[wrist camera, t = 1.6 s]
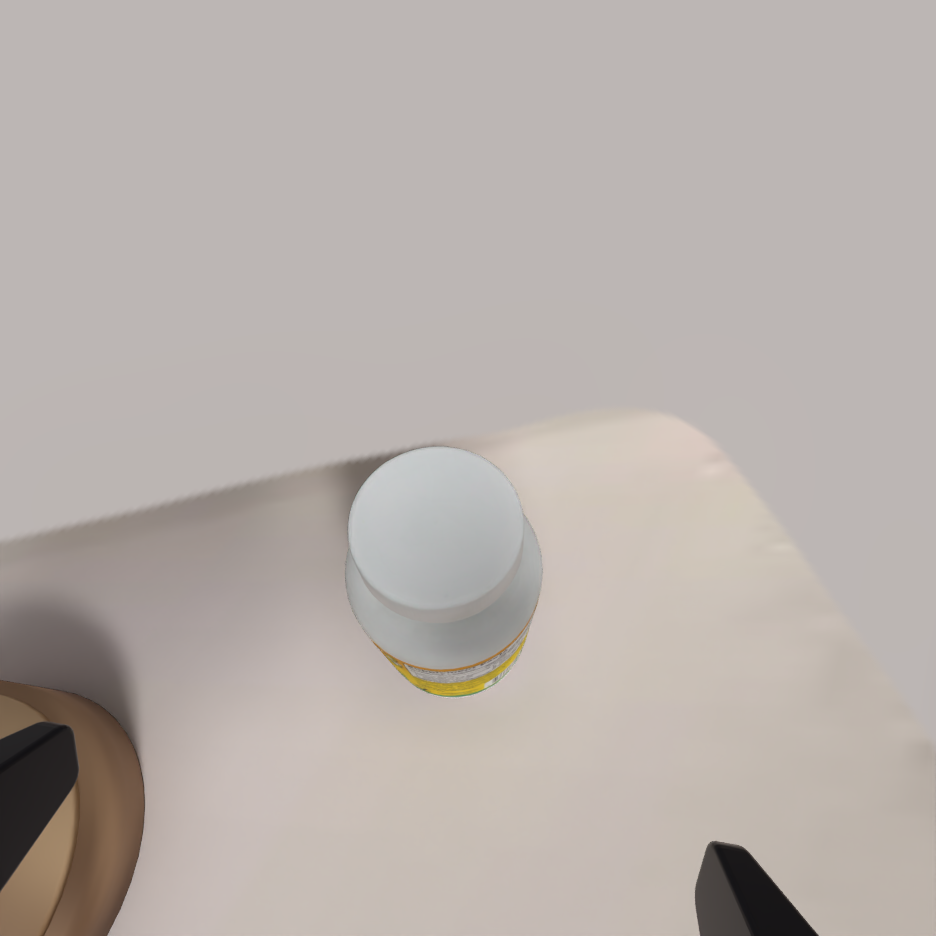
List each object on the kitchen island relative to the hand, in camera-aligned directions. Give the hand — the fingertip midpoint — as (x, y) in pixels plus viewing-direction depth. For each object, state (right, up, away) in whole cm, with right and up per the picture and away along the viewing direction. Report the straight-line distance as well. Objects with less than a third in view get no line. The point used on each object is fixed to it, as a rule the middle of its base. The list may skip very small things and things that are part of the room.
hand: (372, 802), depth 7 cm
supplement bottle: (+1, -1, +13) cm, 13 cm away
